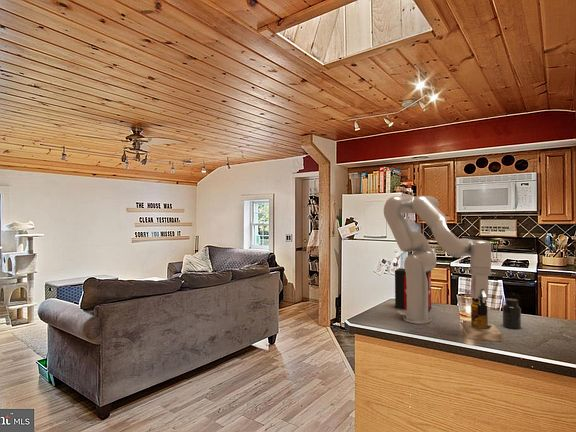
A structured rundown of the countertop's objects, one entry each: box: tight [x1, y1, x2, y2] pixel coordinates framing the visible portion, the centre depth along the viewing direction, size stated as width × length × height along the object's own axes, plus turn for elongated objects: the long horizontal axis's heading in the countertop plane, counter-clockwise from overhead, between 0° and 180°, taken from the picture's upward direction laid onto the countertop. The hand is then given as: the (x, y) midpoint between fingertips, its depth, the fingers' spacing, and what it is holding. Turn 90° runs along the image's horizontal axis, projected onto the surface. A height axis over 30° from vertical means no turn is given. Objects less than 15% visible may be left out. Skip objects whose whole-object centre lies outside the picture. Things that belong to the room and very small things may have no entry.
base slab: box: [462, 322, 503, 342], centre depth 150 cm, size 12×12×3 cm
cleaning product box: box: [394, 267, 432, 313], centre depth 193 cm, size 16×9×20 cm, turn 60°
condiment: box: [469, 297, 492, 331], centre depth 151 cm, size 7×8×12 cm
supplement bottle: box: [502, 298, 522, 330], centre depth 161 cm, size 7×7×12 cm
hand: (479, 311), depth 151 cm, fingers open, 9 cm apart
